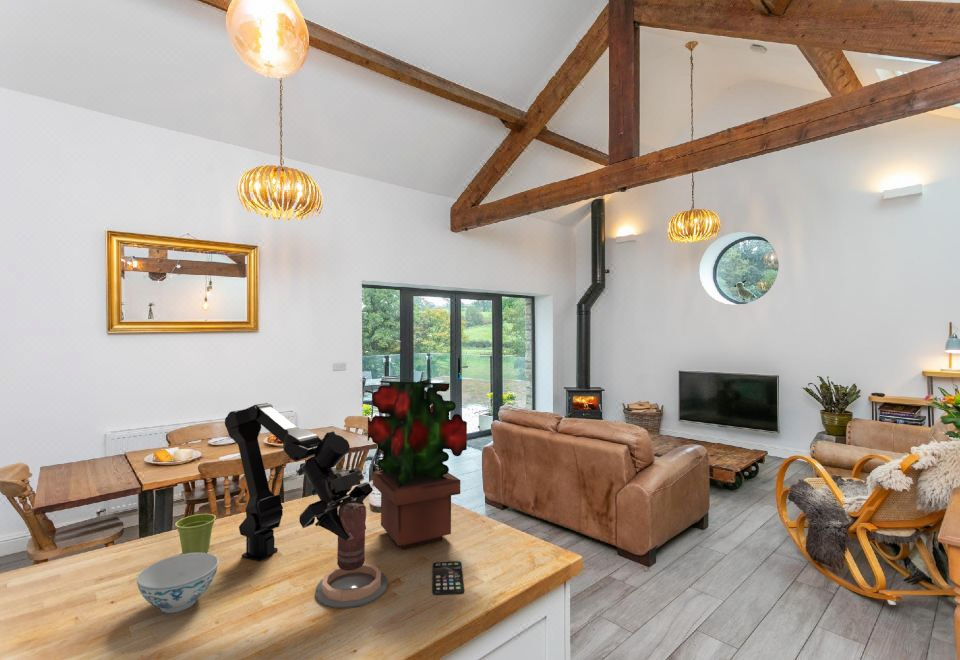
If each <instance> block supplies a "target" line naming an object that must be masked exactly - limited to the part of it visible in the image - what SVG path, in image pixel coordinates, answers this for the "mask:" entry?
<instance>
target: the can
mask: <svg viewBox="0 0 960 660" xmlns="http://www.w3.org/2000/svg"><path fill="white" fill-rule="evenodd" d="M338 517H339V519H340V520H341V523H342V526H343V528H344V530H345V532H346V533H347V535H348V536H349V539H347V540H344V539H342V538H341V537H339V536H337V561H336V562H337V563H336V564H337V567H339V568H340V569H342V570H347V571H349V570H355V569H358V568H360V567H361V566H362V565H363V563H365V561H366V560H365V556H366V555H365V554H366V553H365V551H366V548H365V547H366V530H365V525H366V519H367V506H366V505H365V503H364V501H363V502H361V501H348V502H344V503H342V504H341V505H340V507H338Z"/></svg>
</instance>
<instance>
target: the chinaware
mask: <svg viewBox="0 0 960 660" xmlns="http://www.w3.org/2000/svg"><path fill="white" fill-rule="evenodd" d="M218 566H219V558H218V557H217V555H215V554H212V553H209V552H206V553H187V554H177V555H173V556H169V557H166V558H163V559H161V560H159V561H156V562H154V563H152V564H150V565H148V566H147V567H144V569H142V570H141V571H140V572H139V573H138V575H137V577H136V583H137V584H136V585H137V588H138V590H139V593H140V594H141V596H142V598H143V599H144V600H145V601H146V602H148V603H149V604H150V605H152V606H154V607H157V608H160V609H159V610H160V611H161V612H163V613H167V614H171V613H177V612H182V611H184V610H186V609H188V608H191V607H192V606H194V605H195V603H196V602H197V600H198V598H199V597H200V596H202V594H204V593H205V592H206V591H207V590H208V588H209V586H210V585H211V584H212V582H213V580H214V578H215V575H216V573H217V570H218Z"/></svg>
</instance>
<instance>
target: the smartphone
mask: <svg viewBox="0 0 960 660" xmlns="http://www.w3.org/2000/svg"><path fill="white" fill-rule="evenodd" d="M462 565H463V564H462V562H461V561H459V560H458V561H457V560H456V561H454V560H453V561H435V562H433V563H432V583H431V584H432V585H431V588H432V590H431V594H432V596H433V595H434V596H445V595H446V596H447V595H451V596H452V595H462V594H464V593H465V584H464V574H463V566H462Z"/></svg>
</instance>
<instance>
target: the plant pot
mask: <svg viewBox="0 0 960 660" xmlns="http://www.w3.org/2000/svg"><path fill="white" fill-rule="evenodd" d="M216 518H217V517H216V515H215V514H211V513H199V514H193V515H189V516H186V517H183V518H180V519H179V520H177V521H176V522H175V524H174V526H175V528H176V529H177V532H178V534H179V540H180V545H181V552H182V554H187V553H208V551H209V549H210V545H211V539H212V530H213V526H214V523H215V521H216Z"/></svg>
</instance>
